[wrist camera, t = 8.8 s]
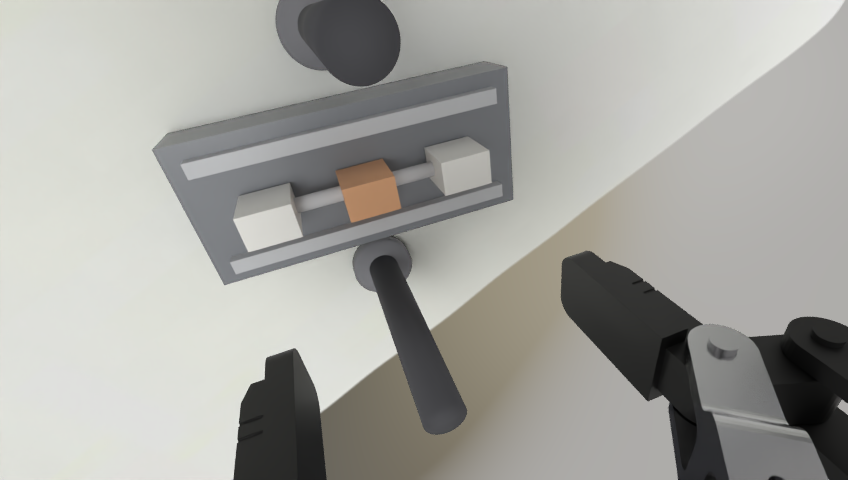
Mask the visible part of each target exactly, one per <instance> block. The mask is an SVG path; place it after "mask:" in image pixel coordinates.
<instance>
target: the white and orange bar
mask: <svg viewBox="0 0 848 480" xmlns="http://www.w3.org/2000/svg"><path fill="white" fill-rule="evenodd" d="M424 149H425V155H426V161H427V162H426V163H422V164H419V165H415V166H411V167H408V168H404V169H400V170H396V171H393V172H391V170H390V169H389V167H388V166H387V165H386V163H385V162H384V160H383V159H379V160H375V161H371V162H367V163H363V164H359V165H356V166H352V167H348V168H344V169H340V170H336V171H335V172H336V176H337V179H338V182H339V186H337V187H333V188H329V189H325V190H322V191H318V192H314V193H311V194H307V195H303V196H299V197H296V198H295V196H294V193H293V190H292V188H291V185H290V183H287V184H283V185H279V186H275V187H271V188H268V189H264V190H260V191H256V192H252V193H248V194H245V195H241V196H238V200H237V205H236V209H235V213H234V217H233V221H234V223H235V225H236V227H237V229H238V231H239V233H240V236H241V238H242V240H243V242H244V244H245V246H246V248H247V250H248V252H252V251H255V250H259V249H262V248H266V247H269V246H273V245H276V244H280V243H283V242H287V241H290V240H294V239H297V238H301V237H303V231H302V221H301V212H305V211H308V210H312V209H316V208H319V207H323V206H326V205H330V204H334V203H337V202H341V201H344V203H345V206H346V209H347V212H348V215H349V218H350V221H351V223H353V222H357V221H360V220H364V219H367V218H371V217H374V216H378V215H381V214H385V213H388V212H392V211H395V210H399V209H401V204H400V200H399V195H398V190H397V186H399V185H403V184H406V183H410V182H414V181H417V180H421V179H425V178H428V177H429V178H430V179H431V180H432V181H433V182H434V184H435V185H436V186H437V187H438V188H439V189H440V190H441V191H442V192H443V194H444V195H445V196H448V195H451V194H455V193H458V192H462V191H465V190H469V189H472V188H476V187H479V186H483V185H486V184H490V183H492V179H491V166H490V153H489V150H488V149H487V148H485V147H483V146H482V145H480V144H479V143H477V142H476V141H474V140H473V139H471V138H470V137H468V136H467V137H463V138H459V139H455V140H451V141H448V142H444V143H440V144H436V145H432V146H428V147H425V148H424Z"/></svg>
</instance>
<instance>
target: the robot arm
mask: <svg viewBox="0 0 848 480" xmlns="http://www.w3.org/2000/svg"><path fill="white" fill-rule="evenodd" d="M561 283H562V284H561V301H562V304H563V307H564V309H565V311H566V313H567V314H568V316H569V317H570V318H571V319H572V320H573V321H574V322H575V323H576V324H577V326H578V327H579V328H580V329H581V330H582V331H583V332H584V333H585V334H586V335H587V336H588V337H589V338H590V340H591V341H592V342H593V343H594V344H595V345H596V346H597V347H598V348H599V349H600V350H601V351H602V353H603V354H604V355H605V356H606V357H607V358H608V359H609V360H610V361H611V362H612V363H613V364H614V365H615V367H616V368H618V370H619V371H620V372H621V373H622V374H623V375H624V376H625V377H626V378H627V379H628V381H629V382H630V383H631V384H632V385H633V386H634V387H635V388H636V389H637V390H638V391H639V392H640V394H641V395H643V397H644V398H645V399H646V400H647V401H650V400H652V399H655V398H657V397H659V396H661V395H664V397H666V399H667V400H668V401H669V402H670V403H669V407H668V408H669V418H670V425H671V431H672V438H673V446H674V453H675V460H676V467H677V475H678V480H828V479H829V480H848V415H847V414H846V413H844V412H843V411H842V410H840V409H839V408H838V407H837V406H838V405H839V403H840V402H841V400H844V401H845V402H846V403H848V327H847V326H845V325H843V324H840V323H838V322H835V321H831V320H828V319H824V318H818V317H800V318H797V319H794V320H792V321H791V322H790V323H789V325H788V327H787V329H786V331H785V333H784V335H772V336H758V337H747V336H745V335H744V334H742V333H741V332H739V331H736V330H734V329H732V328H729V327H726V326H721V325H714V324H705V325H703V324H702V323H700V322H699V321H697V320H696V319H695V318H694V317H692V316H691V315H689V314H688V313H687V312H686V311H684V310H683V309H682V308H680V307H679V306H678V305H676V304H675V303H674V302H672V301H671V300H670V299H668V298H667V297H666V296H665V295H663V294H662V293H660V292H659V291H658V290H657V291H655V289H654V287H652V286H651V285H650V284H649V283H647V282H646V281H645V282H644V281H643V279H642V278H641V277H639V276H638V275H637V274H635V273H634V272H633V271H631V270H630V269H628V268H626V267H624V266H621V265H619V264H616V263H613V262H611V261H609V262H604V261H603V260H602V259H600V258H599V257H598V256H596V255H595V254H594V253H592V252H590V251H585V252H582V253H579V254H576V255H573V256H570V257H567V258H565V259H564V260H563V262H562V279H561ZM239 424H240V427H239V429H238V443H237V449H236V459H235V470H234V480H327V479H326V469H325V459H324V448H323V439H322V429H321V418H320V408H319V401H318V397H317V393H316V389H315V387H314V384H313V382H312V380H311V378H310V376H309V374H308V371H307V369H306V367H305V365H304V363H303V361H302V359H301V357H300V355H299V353H298V351H297V350H296V349H295V348H294V349H291V350H288V351H285V352H282V353H279V354H276V355H273V356H270V357H267V358H266V362H265V380H262V381H259V382H256V383H253V384H251V385H250V387H249V389H248V391H247V393H246V395H245V397H244V399H243V401H242V403H241V408H240V418H239Z"/></svg>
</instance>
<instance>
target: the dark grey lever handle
mask: <svg viewBox="0 0 848 480" xmlns="http://www.w3.org/2000/svg"><path fill="white" fill-rule="evenodd" d="M411 268H412V260H411V256H410V254H409V252H408V250H407V249H406V247H405V245H404V244H403V243H402V242H401V241H400V240H399V239H397V238H395V237H392V236H389V237H385V238H382V239H378V240H375V241H372V242H368V243H365V244H362V245H360V246H359V247H358V249H357V250H356V252H355V254H354V257H353V269H354V272H355V276H356V279H357V281H358V282H359V284H360V285H361V286H363V287H364V288H366V289H368V290H370V291H374V292H377V294H378V297H379V300H380V303H381V306H382V309H383V312H384V315H385V317H386V320H387V323H388V326H389V329H390V332H391V335H392V338H393V341H394V344H395V346H396V349H397V352H398V355H399V358H400V361H401V364H402V367H403V370H404V372H405V375H406V378H407V381H408V384H409V387H410V390H411V393H412V396H413V399H414V402H415V404H416V407H417V410H418V413H419V416H420V419H421V422H422V425H423V427H424V429H425V431H426V432H428V433H430V434H435V435H438V434H444V433H447V432H450V431H452V430H454V429H455V428H456V427H458V426H459V425H460V424H461V423H462V422H463V421H464V419H465V417H466V414H467V409H466V406H465V404H464V402H463V400H462V398H461V396H460V394H459V392H458V390H457V388H456V385H455V383H454V381H453V379H452V377H451V375H450V373H449V370H448V368H447V366H446V364H445V362H444V360H443V358H442V356H441V354H440V352H439V349H438V348H437V345H436V343H435V341H434V339H433V337H432V335H431V332H430V330H429V328H428V326H427V324H426V322H425V320H424V318H423V315H422V313H421V311H420V309H419V307H418V305H417V303H416V301H415V298H414V296H413V294H412V292H411V290H410V288H409V286H408V284H407V282H406V279H407V277H408V276H409V274H410V271H411Z"/></svg>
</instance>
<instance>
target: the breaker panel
mask: <svg viewBox="0 0 848 480" xmlns="http://www.w3.org/2000/svg"><path fill="white" fill-rule="evenodd" d="M467 136H468V137H470V138H471V139H473V140H474V141H476V142H477V143H479V144H480V145H482V146H483V147H485V148H487V149H488V150H489V153H490V166H491V179H492V183H490V184H486V185H483V186H479V187H476V188H472V189H469V190H465V191H462V192H458V193H455V194H451V195H448V196H445V195H444V194H443V192H442V191H441V190H440V189H439V188H438V187H437V186H436V185H435V184H434V182H433V181H432V180H431V179H430V178H429V177H428V178H425V179H421V180H417V181H414V182H410V183H406V184H403V185H399V186H397V190H398V195H399V200H400V204H401V209H399V210H395V211H392V212H388V213H385V214H381V215H378V216H374V217H371V218H367V219H364V220H360V221H357V222H353V223H351V221H350V218H349V215H348V212H347V209H346V206H345V203H344V201H341V202H337V203H334V204H330V205H326V206H323V207H319V208H316V209H312V210H308V211H305V212H301V221H302V231H303V237H301V238H297V239H294V240H290V241H287V242H283V243H280V244H276V245H273V246H269V247H266V248H262V249H259V250H255V251H252V252H248V250H247V248H246V246H245V244H244V242H243V240H242V238H241V236H240V233H239V231H238V229H237V227H236V225H235V223H234V221H233V217H234V213H235V209H236V205H237V200H238V196H241V195H245V194H248V193H252V192H256V191H260V190H264V189H268V188H271V187H275V186H279V185H283V184H287V183H290V185H291V188H292V190H293V193H294V196H295V198H296V197H299V196H303V195H307V194H311V193H314V192H318V191H322V190H325V189H329V188H333V187H337V186H339V182H338V179H337V176H336V172H335V171H336V170H340V169H344V168H348V167H352V166H356V165H359V164H363V163H367V162H371V161H375V160H379V159H383V160H384V162H385V163H386V165H387V166H388V167H389V169H390V170H391V172H393V171H396V170H400V169H404V168H408V167H411V166H415V165H419V164H422V163H426V162H427V161H426V155H425V149H424V148H425V147H428V146H432V145H436V144H440V143H444V142H448V141H451V140H455V139H459V138H463V137H467ZM152 151H153V153H154V155H155V156H156V158H157V160H158V162H159V164H160V166H161V168H162V170H163V171H164V173H165V175H166V177H167V179H168V181H169V183H170V184H171V186H172V188H173V190H174V192H175V194H176V196H177V197H178V199H179V201H180V203H181V205H182V207H183V209H184V211H185V212H186V214H187V216H188V218H189V220H190V222H191V224H192V225H193V227H194V229H195V231H196V233H197V235H198V237H199V239H200V240H201V242H202V244H203V246H204V248H205V250H206V252H207V253H208V255H209V257H210V259H211V261H212V263H213V265H214V267H215V268H216V270H217V272H218V274H219V276H220V278H221V280H222V281H223V283H224V285H227V284H230V283H233V282H237V281H240V280H243V279H247V278H250V277H254V276H257V275H260V274H264V273H267V272H270V271H274V270H277V269H281V268H284V267H287V266H291V265H294V264H297V263H301V262H304V261H308V260H311V259H314V258H318V257H321V256H324V255H328V254H331V253H335V252H338V251H341V250H345V249H348V248H351V247H355V246H358V245H362V244H365V243H368V242H372V241H375V240H378V239H382V238H385V237H389V236H392V235H395V234H399V233H402V232H405V231H409V230H412V229H416V228H419V227H422V226H426V225H429V224H432V223H436V222H439V221H443V220H446V219H449V218H453V217H456V216H459V215H463V214H466V213H469V212H473V211H476V210H480V209H483V208H486V207H490V206H493V205H496V204H500V203H503V202H507V201H510V200H513V182H512V160H511V138H510V117H509V95H508V73H507V67H505V66H501V65H497V64H493V63H488V62H484V61H483V62H479V63H475V64H470V65H466V66H461V67H457V68H453V69H448V70H444V71H440V72H435V73H431V74H426V75H422V76H418V77H413V78H409V79H404V80H400V81H396V82H391V83H387V84H383V85H378V86H374V87H369V88H365V89H361V90H356V91H352V92H347V93H343V94H339V95H334V96H330V97H326V98H321V99H317V100H312V101H308V102H304V103H299V104H295V105H290V106H286V107H282V108H277V109H273V110H269V111H264V112H260V113H255V114H251V115H247V116H242V117H238V118H233V119H229V120H225V121H220V122H216V123H212V124H207V125H203V126H198V127H194V128H190V129H185V130H181V131H176V132H172V133H168V134H166V136H165V137H164V138H163V139H162V140H161V141H160V142H159V143H158V144H157V145H156V146H155V147H154V148H153V149H152Z"/></svg>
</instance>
